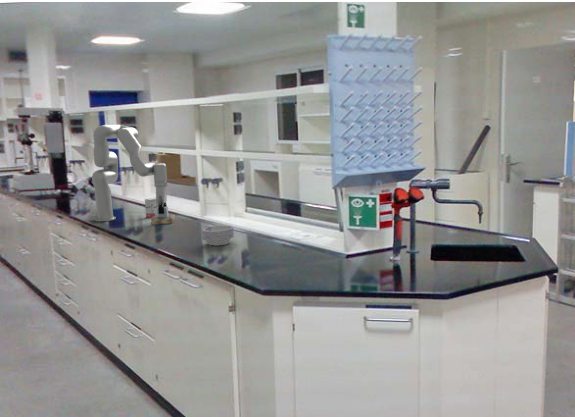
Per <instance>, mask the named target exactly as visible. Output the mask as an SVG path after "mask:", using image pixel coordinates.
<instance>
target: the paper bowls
mask: <svg viewBox="0 0 575 417" xmlns="http://www.w3.org/2000/svg"><path fill="white" fill-rule="evenodd" d="M201 234H202V235H201V236H202V240H203V241H205V242H206V243H207V244H208V245H209V246H212V245H213V246H214V247H218V246H220V245H221V246H226V245H228V244H229V243H230V242H231V239H233V238H234V237H235V236H234V234H235V233H234V227H233V226H231V225H213V226H212V225H211V226H207V227H204V228H202V229H201Z"/></svg>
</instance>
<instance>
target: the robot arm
mask: <svg viewBox="0 0 575 417" xmlns="http://www.w3.org/2000/svg"><path fill="white" fill-rule="evenodd" d="M92 138H93V156H94V157H93V159H94V160H93V162H94V165H95V166H96V167H98V168H102V169H97V170H96V171H94V172H93V173H92V176H91V180H92V184H93V188H94V195H95V196H94V197H95V207H96V213H90V215H89V216H90V218H94V221H95V222H110V221H114V220H116V216H114V210H113V200H112V190H111V186H109V184H113V183H116V181H118V178H119V159H118V156H117V154H116V153H115V152H114V151H111V150H110V148H109V142H108V139H109V140H110V139H111V140H112V139H118V141H119V142H120V143H121V145H122V146H123V148H125V150H126V151H127V153H128V154H129V156H128V157H129V162H130V166H131V167H132V169H133V170H134V171H135V173H136V174H137V175H138V176H140V177H144V178H145V177H150V176H153V183H154V188H155V197H156V203H157V204H158V211H159V214H164V207H168V205H167V201H168V200H167V198H168V196H167V187H168V175H167V174H168V172H167V165H166V163H164V162H159V163H155V162H147V163H146V162H145V163H144V162H143V160H142V159H141V158H140V152H141V150H142V144H140V143H139V141H138V139H139V131H138V130H137V129H136V128H135V127H132V126H127V125H121V124H115V123H112V124H102V125H100V126H97V127H96V128H95V129H94V131H93V136H92Z"/></svg>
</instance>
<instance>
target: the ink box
mask: <svg viewBox="0 0 575 417" xmlns="http://www.w3.org/2000/svg"><path fill="white" fill-rule="evenodd" d="M144 204H145V205H144V206H145V207H144V208H145V217H146V218H151V219H152V218H153V217H154V216H156V215H158V214H157V208H158V204H157V203H156V196H155V197H148V198H145V199H144Z"/></svg>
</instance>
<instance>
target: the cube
mask: <svg viewBox="0 0 575 417" xmlns="http://www.w3.org/2000/svg"><path fill="white" fill-rule="evenodd" d="M157 214H158V217H168V216H169V215H170V214H169V206H167V207H164V214H159V211H158V208H157Z"/></svg>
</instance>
